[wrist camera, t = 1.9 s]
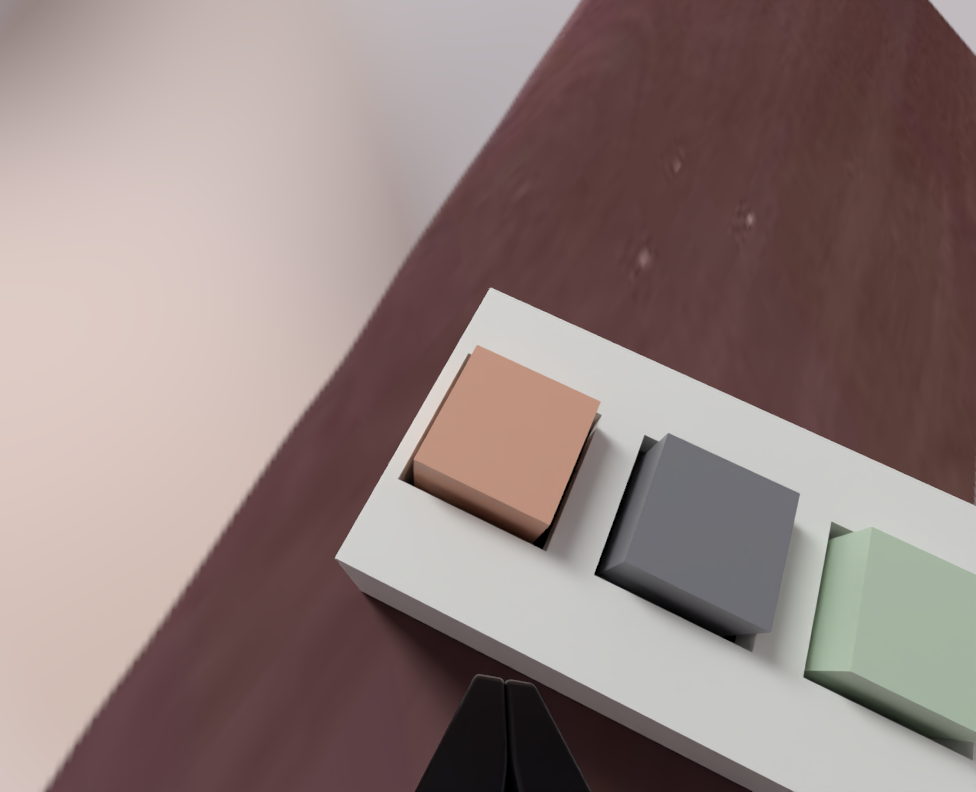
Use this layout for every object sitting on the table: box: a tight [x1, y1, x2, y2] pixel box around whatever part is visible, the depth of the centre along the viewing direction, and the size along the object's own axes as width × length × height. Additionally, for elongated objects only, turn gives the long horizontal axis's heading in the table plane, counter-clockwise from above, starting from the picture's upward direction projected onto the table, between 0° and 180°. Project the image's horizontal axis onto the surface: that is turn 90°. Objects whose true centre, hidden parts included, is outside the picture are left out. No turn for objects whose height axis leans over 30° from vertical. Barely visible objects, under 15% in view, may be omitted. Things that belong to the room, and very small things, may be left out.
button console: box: [335, 288, 976, 792], centre depth 18 cm, size 9×16×7 cm, turn 65°
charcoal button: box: [596, 433, 800, 637], centre depth 15 cm, size 4×4×2 cm
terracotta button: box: [414, 345, 601, 544], centre depth 15 cm, size 4×4×2 cm
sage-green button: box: [803, 527, 976, 743], centre depth 15 cm, size 4×4×2 cm
